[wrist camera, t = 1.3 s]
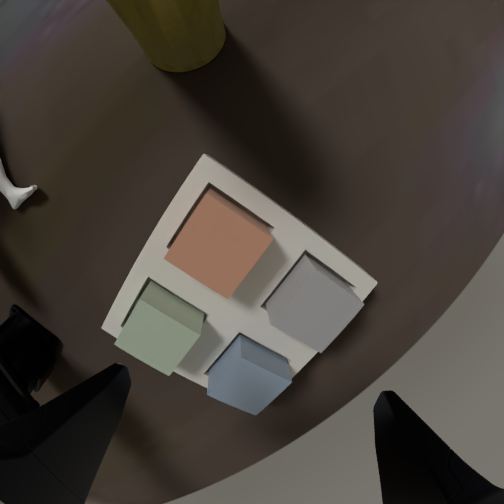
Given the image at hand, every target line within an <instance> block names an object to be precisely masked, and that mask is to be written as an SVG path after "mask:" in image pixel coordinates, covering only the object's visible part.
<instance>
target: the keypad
mask: <svg viewBox="0 0 504 504" xmlns="http://www.w3.org/2000/svg"><path fill="white" fill-rule="evenodd" d="M210 188H211V189H212V190H214V191H215V192H217V193H218V194H219V195H221V196H222V197H224V198H225V199H227V200H228V201H230V202H231V203H233V204H234V205H236V206H237V207H238V208H240V209H241V210H243V211H244V212H246V213H247V214H249V215H250V216H251V217H253V218H254V219H256V220H257V221H259V222H260V223H261V224H263V225H264V226H266V227H267V228H268V229H269V231H270V233H271V235H272V237H273V241H272V242H271V243H270V245H269V246H268V247H267V249H266V250H265V251H264V253H263V254H262V255H261V257H260V258H259V259H258V261H257V262H256V263H255V265H254V266H253V267H252V269H251V270H250V271H249V272H248V274H247V275H246V276H245V278H244V279H243V280H242V282H241V283H240V284H239V286H238V287H237V288H236V290H235V291H234V292H233V294H232V295H231V296H230V298H229V299H226V298H225V297H223V296H221V295H220V294H218V293H217V292H215V291H213V290H212V289H210V288H208V287H207V286H205V285H204V284H202V283H200V282H199V281H197V280H196V279H194V278H193V277H191V276H189V275H188V274H186V273H185V272H183V271H182V270H180V269H179V268H177V267H175V266H174V265H172V264H171V263H169V262H168V261H166V260H165V259H164V257H165V255H166V254H167V252H168V251H169V249H170V247H171V246H172V244H173V243H174V241H175V240H176V238H177V236H178V235H179V233H180V232H181V230H182V229H183V227H184V226H185V224H186V223H187V221H188V219H189V218H190V216H191V215H192V213H193V212H194V210H195V209H196V207H197V206H198V204H199V203H200V202H201V200H202V199H203V197H204V196H205V194H206V193H207V192H208V190H209V189H210ZM304 255H307V256H308V257H309V258H311V259H312V260H314V261H315V262H316V263H318V264H319V265H320V266H322V267H323V268H325V269H326V270H327V271H329V272H330V273H331V274H333V275H334V276H335V277H337V278H338V279H340V280H341V281H342V282H344V283H345V284H346V285H348V286H349V287H350V288H351V289H352V290H353V291H354V293H355V294H356V295H357V296H358V297H359V298H360V300H361V301H362V302H363V300H364V299H365V298H366V297H367V296H368V294H369V293H370V292H371V291H372V289H373V288H374V287H375V286H376V285H377V283H378V282H377V281H376V280H375V279H373V278H372V277H371V276H370V275H369V274H368V273H367V272H366V271H365V270H364V269H363V268H361V267H360V266H359V265H358V264H356V263H355V262H354V261H353V260H351V259H350V258H349V257H348V256H346V255H345V254H344V253H342V252H341V251H340V250H339V249H337V248H336V247H335V246H334V245H332V244H331V243H330V242H328V241H327V240H326V239H325V238H323V237H322V236H321V235H319V234H318V233H317V232H315V231H314V230H313V229H311V228H310V227H309V226H307V225H306V224H305V223H303V222H302V221H301V220H299V219H298V218H297V217H295V216H294V215H293V214H291V213H290V212H289V211H287V210H286V209H285V208H283V207H282V206H280V205H279V204H278V203H276V202H275V201H274V200H272V199H271V198H269V197H268V196H267V195H265V194H264V193H262V192H261V191H260V190H258V189H257V188H255V187H254V186H253V185H251V184H250V183H248V182H247V181H246V180H244V179H243V178H241V177H240V176H238V175H237V174H235V173H234V172H233V171H231V170H230V169H228V168H227V167H225V166H224V165H222V164H221V163H219V162H218V161H216V160H215V159H213V158H212V157H210V156H209V155H207V154H203V155H202V157H201V158H200V160H199V161H198V163H197V164H196V165H195V167H194V168H193V170H192V171H191V173H190V174H189V176H188V177H187V179H186V180H185V182H184V183H183V185H182V186H181V188H180V189H179V191H178V192H177V194H176V196H175V197H174V199H173V200H172V202H171V203H170V205H169V207H168V208H167V210H166V211H165V213H164V215H163V216H162V218H161V219H160V221H159V223H158V224H157V226H156V228H155V229H154V231H153V233H152V234H151V236H150V238H149V239H148V241H147V243H146V245H145V246H144V248H143V250H142V251H141V253H140V255H139V257H138V258H137V260H136V262H135V264H134V266H133V267H132V269H131V271H130V273H129V275H128V277H127V278H126V280H125V282H124V284H123V286H122V288H121V290H120V292H119V294H118V295H117V297H116V299H115V301H114V303H113V305H112V307H111V309H110V311H109V313H108V315H107V317H106V319H105V321H104V323H103V326H102V329H103V330H105V331H106V332H108V333H110V334H111V335H113V336H114V337H116V338H118V336H119V335H120V333H121V331H122V329H123V327H124V325H125V324H126V322H127V320H128V318H129V316H130V315H131V313H132V311H133V309H134V308H135V306H136V304H137V302H138V301H139V299H140V297H141V296H142V294H143V292H144V291H145V289H146V288H147V286H148V284H149V283H150V281H152V282H154V283H155V284H157V285H159V286H160V287H162V288H163V289H165V290H166V291H168V292H170V293H171V294H173V295H174V296H176V297H178V298H179V299H181V300H182V301H184V302H186V303H187V304H189V305H191V306H192V307H194V308H196V309H197V310H199V311H201V312H202V313H204V318H203V323H202V329H201V335H200V337H199V338H198V339H197V341H196V342H195V343H194V345H193V346H192V347H191V348H190V350H189V351H188V352H187V354H186V355H185V356H184V358H183V359H182V360H181V361H180V363H179V364H178V365H177V367H176V368H175V369H174V370H173V371H174V372H176V373H178V374H180V375H182V376H184V377H186V378H188V379H190V380H192V381H194V382H196V383H198V384H200V385H202V386H204V387H206V388H208V376H209V370H210V369H211V368H212V367H213V366H214V365H215V363H216V362H217V361H218V360H219V359H220V358H221V356H222V355H223V354H224V353H225V352H226V351H227V349H228V348H229V347H230V346H231V345H232V344H233V342H234V341H235V340H236V339H237V338H238V336H239V335H242V336H244V337H246V338H248V339H249V340H251V341H253V342H255V343H257V344H259V345H261V346H262V347H264V348H266V349H268V350H270V351H272V352H274V353H276V354H278V355H280V356H281V357H283V358H285V359H286V360H287V364H288V367H289V371H290V375H291V379H292V378H293V377H294V376H295V375H296V374H297V373H298V372H299V371H300V370H301V369H302V368H303V367H304V366H305V365H306V364H307V363H308V362H309V361H310V360H311V359H312V357H313V356H314V355H315V354H316V353H317V352H318V351H316V350H315V349H313V348H311V347H309V346H307V345H305V344H304V343H302V342H300V341H298V340H296V339H295V338H293V337H291V336H289V335H288V334H286V333H284V332H282V331H281V330H279V329H277V328H275V327H274V326H272V325H270V321H269V317H268V312H267V308H266V303H267V301H268V300H269V299H270V298H271V296H272V295H273V294H274V293H275V291H276V290H277V289H278V288H279V286H280V285H281V284H282V283H283V281H284V280H285V279H286V278H287V276H288V275H289V274H290V273H291V271H292V270H293V269H294V268H295V266H296V265H297V264H298V262H299V261H300V260H301V259H302V257H303V256H304Z"/></svg>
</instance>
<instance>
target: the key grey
mask: <svg viewBox="0 0 504 504" xmlns="http://www.w3.org/2000/svg"><path fill="white" fill-rule="evenodd" d="M364 305H365V304H364V303H363V302H362V301H361V300H360V298H359V297H358V296H357V295H356V294H355V293H354V291H353V290H352V289H351V288H350V287H349V286H348V285H346V284H345V283H344V282H342V281H341V280H340V279H338V278H337V277H335V276H334V275H333V274H331V273H330V272H329V271H327V270H326V269H325V268H323V267H322V266H320V265H319V264H318V263H316V262H315V261H314V260H312V259H311V258H309V257H308V256H307V255H304V256H303V257H302V259H301V260H300V261H299V262H298V264H297V265H296V266H295V268H294V269H293V270H292V271H291V273H290V274H289V275H288V276H287V278H286V279H285V280H284V281H283V283H282V284H281V285H280V286H279V288H278V289H277V290H276V291H275V293H274V294H273V295H272V296H271V298H270V299H269V300H268V301H267V303H266V308H267V312H268V317H269V321H270V325H272V326H274V327H275V328H277V329H279V330H281V331H282V332H284V333H286V334H288V335H289V336H291V337H293V338H295V339H296V340H298V341H300V342H302V343H304V344H305V345H307V346H309V347H311V348H313V349H315V350H316V351H318V352H320V353H322V352H323V351H324V350H325V349H326V348H327V347H328V345H329V344H330V343H331V342H332V341H333V340H334V339H335V338H336V337H337V336H338V335H339V333H340V332H341V331H342V330H343V329H344V328H345V327H346V326H347V325H348V323H349V322H350V321H351V320H352V319H353V318H354V317H355V315H356V314H357V313H358V312H359V311H360V310H361V308H362V307H363V306H364Z"/></svg>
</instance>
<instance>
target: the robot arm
mask: <svg viewBox="0 0 504 504" xmlns="http://www.w3.org/2000/svg"><path fill="white" fill-rule="evenodd" d="M57 345H58V339H57V338H56V337H55V336H54V335H52V334H51V333H50V332H48V331H47V330H46V329H44V328H43V327H42V326H41V325H39V324H38V323H37V322H36V321H34V320H33V319H32V318H31V317H30V316H28V315H27V314H26V313H25V312H24V311H23V310H21V309H20V308H19V307H18V306H17V305H15V304H14V305H12V306H11V309H10V315H9V318H8V319H7V320H6V321H5V322H4V323H3V324H1V325H0V504H85V501H86V499H87V496H88V493H89V491H90V488H91V486H92V483H93V481H94V479H95V476H96V474H97V471H98V469H99V467H100V464H101V462H102V459H103V457H104V455H105V452H106V450H107V448H108V445H109V443H110V441H111V439H112V436H113V434H114V432H115V430H116V427H117V425H118V423H119V420H120V418H121V415H122V412H123V409H124V405H125V402H126V399H127V396H128V393H129V390H130V387H131V378H130V375H129V372H128V368H127V366H126V365H124V364H120V363H114V364H113V365H111V366H109V367H107V368H106V369H104V370H102V371H101V372H99V373H97V374H96V375H94V376H92V377H91V378H89V379H87V380H85V381H84V382H82V383H80V384H79V385H77V386H75V387H73V388H72V389H70V390H68V391H66V392H65V393H63V394H61V395H60V396H58V397H56V398H54V399H53V400H51V401H49V402H47V403H46V404H45V405H42V406H40V404H39V403H38V402H37V401H36V400H34V398H33V397H32V396H31V395H30V393H31V392H32V390H33V391H35V392H38V391H39V390H40V388H41V387H42V385H43V384H44V382H45V381H46V379H47V378H48V376H49V375H50V374H51V372H52V371H53V368H54V365H55V361H56V355H55V352H56V348H57ZM39 406H40V407H39ZM373 412H374V429H375V447H376V454H377V461H378V468H379V475H380V483H381V491H382V500H383V504H504V489H502V488H499V487H497V486H495V485H493V484H492V483H490V482H489V481H488V480H487V479H485V478H484V477H483V476H481V475H480V474H479V473H477V472H476V471H475V470H474V469H472V468H471V467H470V466H469V465H468V464H467V463H465V462H464V461H463V460H462V459H461V458H460V457H459V456H458V455H457V454H456V453H455V452H454V451H453V450H452V449H450V447H449V446H448V445H447V444H446V443H445V442H444V441H443V440H442V439H441V438H440V437H439V436H438V435H437V434H436V433H435V432H434V431H433V430H432V429H431V428H430V427H429V426H428V425H427V424H426V423H425V422H424V421H423V420H422V419H421V418H420V417H419V416H418V415H417V414H416V413H415V412H414V411H413V410H412V409H411V408H410V407H409V406H408V405H407V404H406V403H405V402H404V401H403V400H402V399H401V398H400V397H399V396H398V395H397V394H396V393H395V392H393V391H382V392H381V393H380V395H379V397H378V399H377V402H376V403H375V405H374V410H373Z"/></svg>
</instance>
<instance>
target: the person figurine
mask: <svg viewBox="0 0 504 504" xmlns="http://www.w3.org/2000/svg"><path fill="white" fill-rule="evenodd" d="M35 190H37V186H36V185H33V186H31V187H29V188H17V187H14V186H13V184H12V183H11V182H10V180H9V179H8V178H7V177H6V174H5V171H4V168H3V165H2V162H1V158H0V192H1V193H2V194H3V195H4V196H5V197H6V198H7V199H8V201H9V203H10V204H11V206H12V208H13V209H17V208H18V207H19V206H20V205H21V204H22V202H23V201H24V200H26V199H27V198H28V197H29V196H30V195H32V193H33V192H34V191H35Z"/></svg>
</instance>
